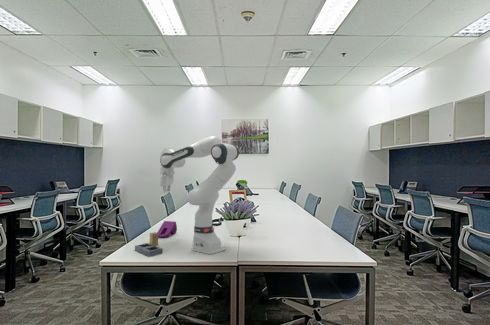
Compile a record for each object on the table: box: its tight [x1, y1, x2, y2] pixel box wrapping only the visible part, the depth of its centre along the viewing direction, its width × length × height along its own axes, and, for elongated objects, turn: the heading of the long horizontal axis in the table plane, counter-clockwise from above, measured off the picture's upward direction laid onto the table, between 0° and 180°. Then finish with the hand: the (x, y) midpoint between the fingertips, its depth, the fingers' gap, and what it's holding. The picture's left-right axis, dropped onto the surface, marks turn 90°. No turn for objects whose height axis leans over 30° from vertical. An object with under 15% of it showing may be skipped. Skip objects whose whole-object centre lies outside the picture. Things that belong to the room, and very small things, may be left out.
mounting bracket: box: [156, 220, 178, 239], centre depth 232 cm, size 10×8×18 cm
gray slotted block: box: [134, 242, 164, 257], centre depth 189 cm, size 18×9×3 cm, turn 45°
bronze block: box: [149, 231, 159, 247], centre depth 205 cm, size 4×4×8 cm
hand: (166, 192), depth 213 cm, fingers open, 8 cm apart
